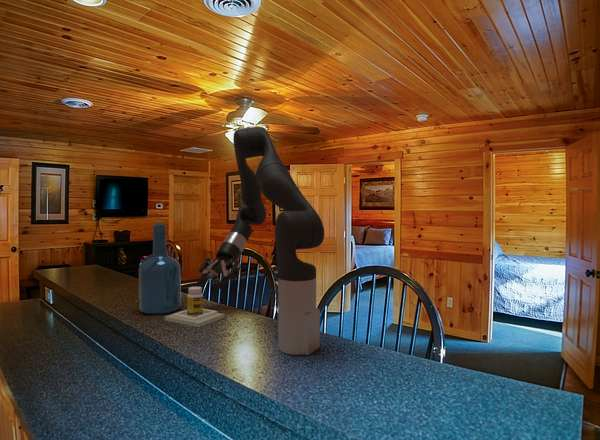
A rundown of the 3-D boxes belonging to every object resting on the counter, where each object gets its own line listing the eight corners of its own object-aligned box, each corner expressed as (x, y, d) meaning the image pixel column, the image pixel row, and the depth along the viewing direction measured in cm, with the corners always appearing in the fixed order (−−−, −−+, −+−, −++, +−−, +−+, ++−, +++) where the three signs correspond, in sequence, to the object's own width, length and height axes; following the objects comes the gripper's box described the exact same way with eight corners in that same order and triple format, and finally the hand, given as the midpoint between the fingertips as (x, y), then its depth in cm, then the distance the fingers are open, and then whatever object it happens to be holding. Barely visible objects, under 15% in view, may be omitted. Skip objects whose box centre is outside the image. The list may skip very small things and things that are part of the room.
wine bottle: (163, 303, 139) (162, 220, 138) (189, 308, 132) (188, 220, 131) (129, 312, 127) (127, 221, 126) (156, 318, 120) (154, 221, 119)
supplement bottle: (193, 318, 116) (193, 290, 115) (183, 315, 118) (183, 288, 118) (206, 314, 120) (206, 287, 119) (196, 311, 122) (196, 285, 122)
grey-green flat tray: (224, 317, 120) (224, 311, 120) (198, 327, 110) (198, 320, 110) (191, 312, 127) (191, 305, 127) (164, 320, 117) (164, 313, 117)
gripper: (211, 240, 135) (187, 278, 126) (243, 242, 128) (220, 282, 119) (221, 253, 140) (198, 291, 130) (253, 256, 133) (232, 295, 124)
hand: (209, 286), depth 125 cm, fingers open, 8 cm apart
